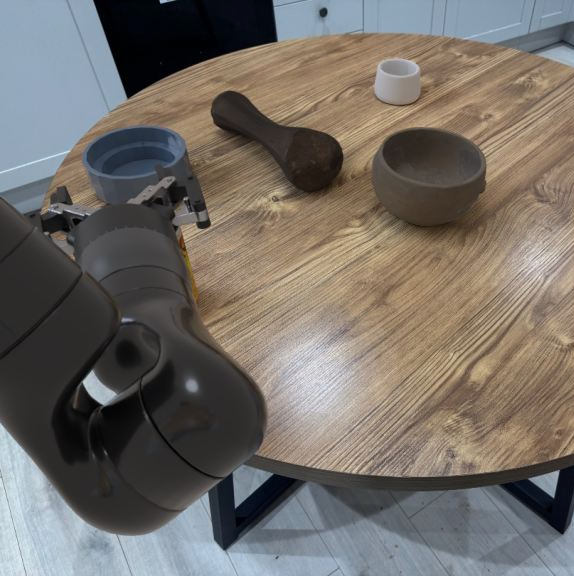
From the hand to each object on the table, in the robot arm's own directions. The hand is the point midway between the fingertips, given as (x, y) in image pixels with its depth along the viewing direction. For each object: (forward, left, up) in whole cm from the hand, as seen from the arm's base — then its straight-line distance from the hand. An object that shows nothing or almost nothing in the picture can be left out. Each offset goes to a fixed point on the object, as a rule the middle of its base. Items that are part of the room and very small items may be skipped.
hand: (113, 184), depth 54 cm
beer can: (-1, +7, -24) cm, 25 cm away
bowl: (+34, +29, -24) cm, 51 cm away
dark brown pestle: (+8, +42, -24) cm, 49 cm away
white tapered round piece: (+32, +68, -24) cm, 79 cm away
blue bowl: (-12, +34, -24) cm, 43 cm away
